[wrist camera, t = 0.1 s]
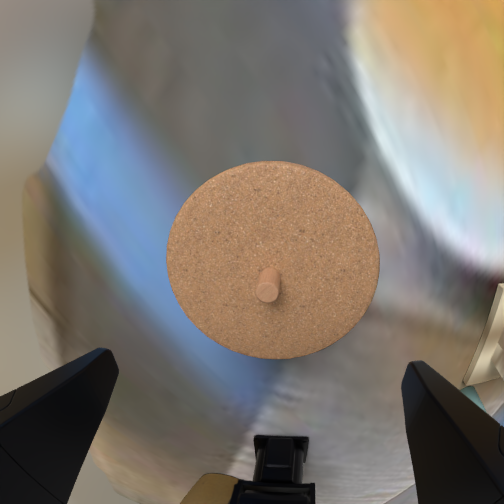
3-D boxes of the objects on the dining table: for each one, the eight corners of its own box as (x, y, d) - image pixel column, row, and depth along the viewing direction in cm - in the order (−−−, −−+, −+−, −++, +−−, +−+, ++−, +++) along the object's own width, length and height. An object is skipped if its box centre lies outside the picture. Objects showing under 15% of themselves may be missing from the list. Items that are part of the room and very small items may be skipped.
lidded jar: (382, 226, 20) (433, 286, 12) (283, 318, 24) (274, 406, 15) (271, 122, 19) (251, 107, 10) (179, 233, 23) (116, 291, 14)
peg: (468, 401, 26) (488, 449, 18) (448, 406, 26) (467, 457, 19) (478, 384, 24) (502, 432, 17) (457, 388, 25) (480, 440, 18)
